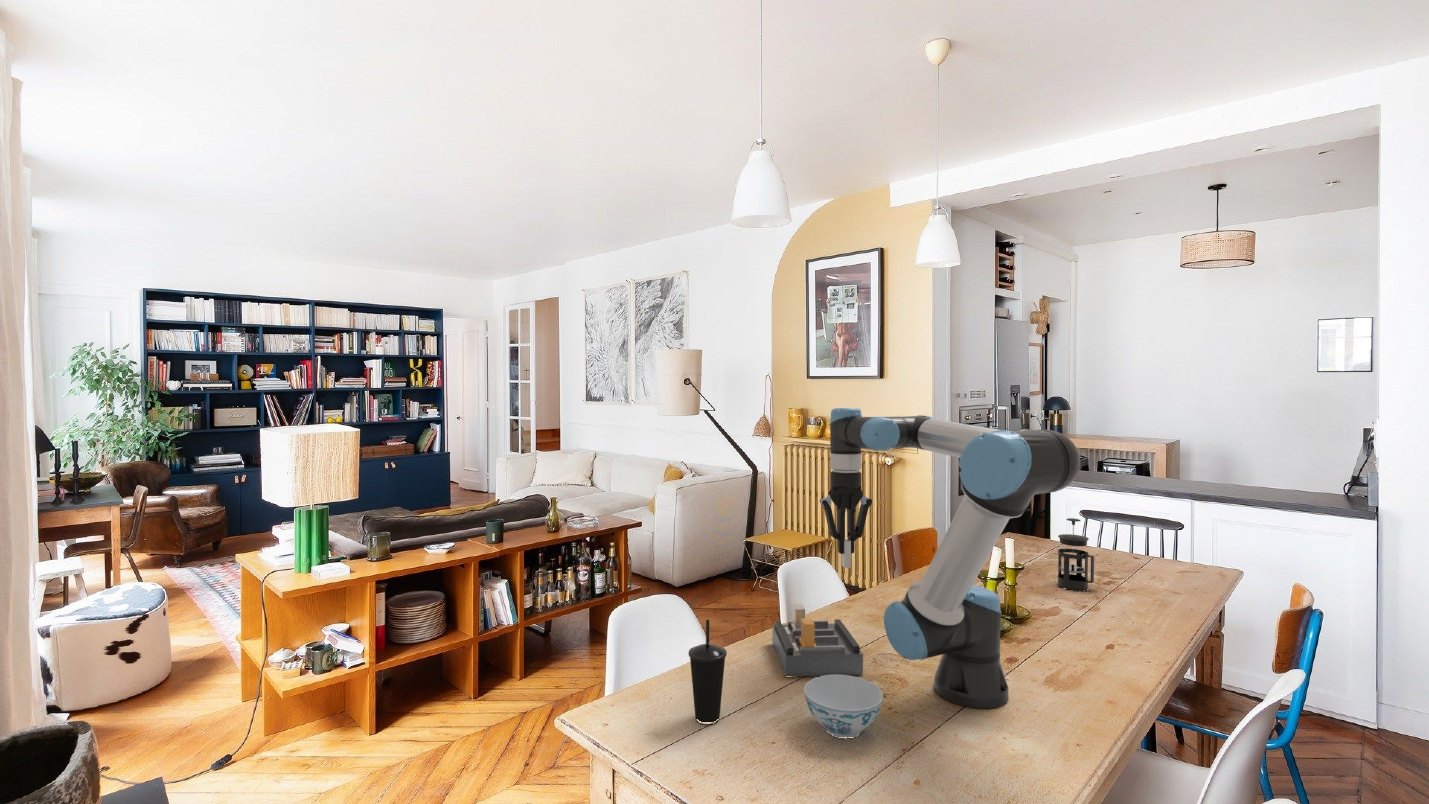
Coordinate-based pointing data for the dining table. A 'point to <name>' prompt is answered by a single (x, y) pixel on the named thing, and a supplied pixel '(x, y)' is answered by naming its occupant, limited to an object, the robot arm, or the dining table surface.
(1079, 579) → the french press
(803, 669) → the grey compartment box
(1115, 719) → the dining table surface
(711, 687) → the drinking cup
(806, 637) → the switch
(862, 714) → the chinaware
